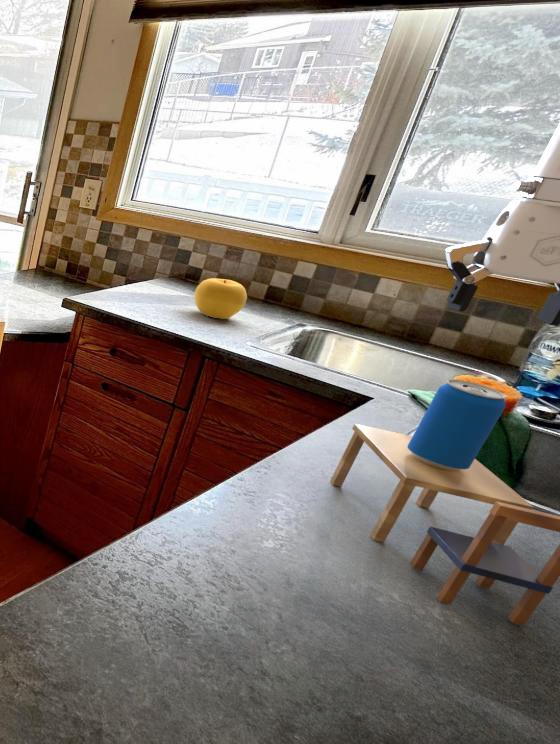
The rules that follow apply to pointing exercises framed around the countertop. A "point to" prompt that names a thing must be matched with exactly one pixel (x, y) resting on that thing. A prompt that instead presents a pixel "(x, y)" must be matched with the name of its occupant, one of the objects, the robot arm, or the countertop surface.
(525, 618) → the chair
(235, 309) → the apple
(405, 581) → the countertop surface
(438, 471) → the dining table
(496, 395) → the beverage can
